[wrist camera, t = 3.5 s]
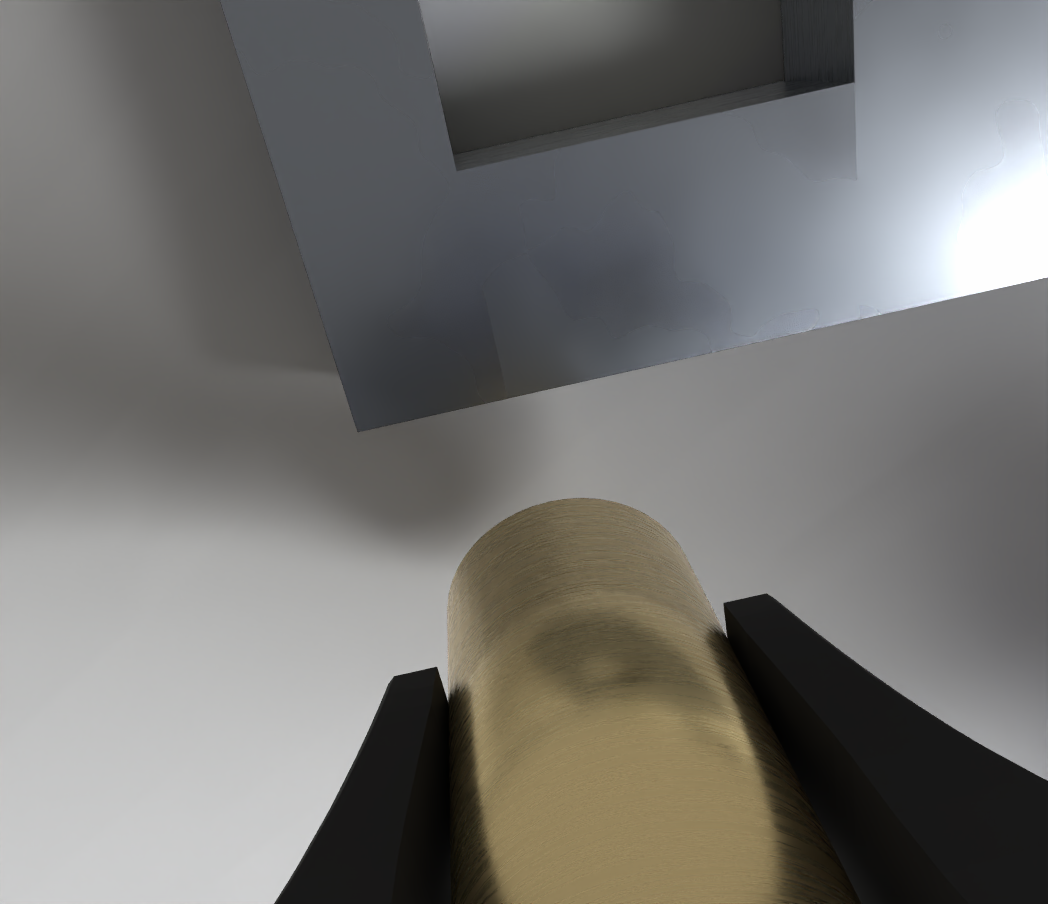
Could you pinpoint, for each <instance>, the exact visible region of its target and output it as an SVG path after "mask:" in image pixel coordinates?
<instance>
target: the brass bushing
mask: <svg viewBox="0 0 1048 904" xmlns="http://www.w3.org/2000/svg"><path fill="white" fill-rule="evenodd" d="M447 624H448V707H449V791H450V874H451V904H862V903H861V901H860V899H859V897H858V896H857V894H856V892H855V890H854V888H853V886H852V884H851V882H850V880H849V878H848V876H847V874H846V872H845V870H844V868H843V866H842V864H841V862H840V860H839V858H838V856H837V854H836V852H835V850H834V848H833V846H832V844H831V842H830V840H829V838H828V836H827V834H826V832H825V830H824V828H823V826H822V824H821V822H820V820H819V818H818V816H817V815H816V813H815V811H814V809H813V807H812V805H811V803H810V801H809V799H808V797H807V795H806V793H805V791H804V789H803V787H802V785H801V783H800V781H799V779H798V777H797V775H796V773H795V771H794V769H793V767H792V765H791V763H790V761H789V759H788V757H787V755H786V753H785V751H784V749H783V747H782V745H781V743H780V741H779V739H778V737H777V735H776V734H775V732H774V730H773V728H772V726H771V724H770V722H769V720H768V718H767V716H766V714H765V712H764V710H763V708H762V706H761V704H760V702H759V700H758V698H757V696H756V694H755V692H754V690H753V688H752V686H751V684H750V682H749V680H748V678H747V676H746V674H745V672H744V670H743V668H742V666H741V664H740V662H739V660H738V658H737V656H736V655H735V653H734V651H733V649H732V647H731V645H730V643H729V641H728V639H727V637H726V635H725V633H724V631H723V629H722V627H721V625H720V623H719V621H718V619H717V617H716V615H715V613H714V611H713V609H712V607H711V605H710V603H709V601H708V599H707V597H706V595H705V593H704V591H703V589H702V587H701V585H700V583H699V581H698V579H697V577H696V575H695V574H694V572H693V570H692V568H691V566H690V564H689V562H688V560H687V558H686V556H685V554H684V552H683V551H682V549H681V547H680V545H679V544H678V542H677V541H676V540H675V539H674V538H673V536H672V535H671V534H670V533H669V532H668V531H667V530H666V529H665V528H664V527H663V526H662V525H660V524H659V523H658V522H657V521H655V520H654V519H652V518H651V517H649V516H648V515H646V514H644V513H642V512H640V511H638V510H636V509H634V508H632V507H629V506H626V505H623V504H620V503H617V502H611V501H606V500H601V499H589V498H575V499H562V500H556V501H550V502H546V503H543V504H539V505H536V506H532V507H530V508H527V509H525V510H522V511H520V512H518V513H516V514H514V515H512V516H510V517H508V518H507V519H505V520H503V521H501V522H500V523H498V524H497V525H496V526H494V527H493V528H492V529H490V530H489V531H488V532H487V533H485V534H484V535H483V536H482V537H481V538H480V539H479V540H478V541H477V542H476V543H475V544H474V546H473V547H472V548H471V549H470V550H469V552H468V553H467V554H466V556H465V557H464V559H463V560H462V562H461V564H460V565H459V567H458V569H457V571H456V574H455V576H454V578H453V581H452V584H451V588H450V592H449V597H448V606H447Z"/></svg>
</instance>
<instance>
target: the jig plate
mask: <svg viewBox="0 0 1048 904" xmlns="http://www.w3.org/2000/svg"><path fill="white" fill-rule="evenodd" d="M220 2H221V5H222V9H223V12H224V15H225V18H226V21H227V24H228V27H229V31H230V34H231V37H232V40H233V43H234V46H235V49H236V52H237V56H238V59H239V62H240V65H241V68H242V71H243V74H244V78H245V81H246V84H247V87H248V90H249V93H250V96H251V99H252V103H253V106H254V109H255V112H256V115H257V118H258V121H259V125H260V128H261V131H262V134H263V137H264V140H265V143H266V146H267V150H268V153H269V156H270V159H271V162H272V165H273V168H274V172H275V175H276V178H277V181H278V184H279V187H280V190H281V193H282V197H283V200H284V203H285V206H286V209H287V212H288V215H289V219H290V222H291V225H292V228H293V231H294V234H295V237H296V240H297V244H298V247H299V250H300V253H301V256H302V259H303V262H304V266H305V269H306V272H307V275H308V278H309V281H310V284H311V287H312V291H313V294H314V297H315V300H316V303H317V306H318V309H319V313H320V316H321V319H322V322H323V325H324V328H325V331H326V334H327V338H328V341H329V344H330V347H331V350H332V353H333V356H334V360H335V363H336V366H337V369H338V372H339V375H340V378H341V381H342V385H343V388H344V391H345V394H346V397H347V400H348V403H349V407H350V410H351V413H352V416H353V419H354V422H355V425H356V428H357V432H361V431H365V430H370V429H374V428H379V427H383V426H388V425H392V424H396V423H401V422H405V421H410V420H414V419H419V418H423V417H428V416H432V415H437V414H441V413H445V412H450V411H454V410H459V409H463V408H468V407H472V406H477V405H481V404H485V403H490V402H494V401H499V400H503V399H508V398H512V397H517V396H521V395H526V394H530V393H534V392H539V391H543V390H548V389H552V388H557V387H561V386H566V385H570V384H574V383H579V382H583V381H588V380H592V379H597V378H601V377H606V376H610V375H615V374H619V373H623V372H628V371H632V370H637V369H641V368H646V367H650V366H655V365H659V364H664V363H668V362H672V361H677V360H681V359H686V358H690V357H695V356H699V355H704V354H708V353H712V352H717V351H721V350H726V349H730V348H735V347H739V346H744V345H748V344H753V343H757V342H761V341H766V340H770V339H775V338H779V337H784V336H788V335H793V334H797V333H802V332H806V331H810V330H815V329H819V328H824V327H828V326H833V325H837V324H842V323H846V322H850V321H855V320H859V319H864V318H868V317H873V316H877V315H882V314H886V313H891V312H895V311H899V310H904V309H908V308H913V307H917V306H922V305H926V304H931V303H935V302H939V301H944V300H948V299H953V298H957V297H962V296H966V295H971V294H975V293H980V292H984V291H988V290H993V289H997V288H1002V287H1006V286H1011V285H1015V284H1020V283H1024V282H1029V281H1033V280H1037V279H1042V278H1046V277H1048V0H781V16H782V34H783V52H784V70H785V81H781V82H776V83H772V84H767V85H763V86H758V87H754V88H750V89H745V90H741V91H736V92H732V93H727V94H723V95H718V96H714V97H709V98H705V99H700V100H696V101H692V102H687V103H683V104H678V105H674V106H669V107H665V108H660V109H656V110H651V111H647V112H642V113H638V114H633V115H629V116H625V117H620V118H616V119H611V120H607V121H602V122H598V123H593V124H589V125H584V126H580V127H575V128H571V129H566V130H562V131H558V132H553V133H549V134H544V135H540V136H535V137H531V138H526V139H522V140H517V141H513V142H508V143H504V144H500V145H495V146H491V147H486V148H482V149H477V150H473V151H468V152H464V153H459V154H455V155H453V152H452V147H451V143H450V138H449V134H448V130H447V125H446V121H445V116H444V112H443V107H442V103H441V99H440V94H439V90H438V85H437V81H436V76H435V72H434V68H433V63H432V59H431V54H430V50H429V45H428V41H427V37H426V32H425V28H424V23H423V19H422V14H421V10H420V6H419V1H418V0H220Z"/></svg>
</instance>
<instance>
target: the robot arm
mask: <svg viewBox="0 0 1048 904" xmlns="http://www.w3.org/2000/svg"><path fill="white" fill-rule="evenodd" d="M723 604H724V612H725V621H726V630H727V638H728V641H729V643H730V645H731V647H732V649H733V651H734V653H735V655H736V656H737V658H738V660H739V662H740V664H741V666H742V668H743V670H744V672H745V674H746V676H747V678H748V680H749V682H750V684H751V686H752V688H753V690H754V692H755V694H756V696H757V698H758V700H759V702H760V704H761V706H762V708H763V710H764V712H765V714H766V716H767V718H768V720H769V722H770V724H771V726H772V728H773V730H774V732H775V734H776V735H777V737H778V739H779V741H780V743H781V745H782V747H783V749H784V751H785V753H786V755H787V757H788V759H789V761H790V763H791V765H792V767H793V769H794V771H795V773H796V775H797V777H798V779H799V781H800V783H801V785H802V787H803V789H804V791H805V793H806V795H807V797H808V799H809V801H810V803H811V805H812V807H813V809H814V811H815V813H816V815H817V816H818V818H819V820H820V822H821V824H822V826H823V828H824V830H825V832H826V834H827V836H828V838H829V840H830V842H831V844H832V846H833V848H834V850H835V852H836V854H837V856H838V858H839V860H840V862H841V864H842V866H843V868H844V870H845V872H846V874H847V876H848V878H849V880H850V882H851V884H852V886H853V888H854V890H855V892H856V894H857V896H858V897H859V899H860V901H861V903H862V904H1048V781H1047V780H1045V779H1043V778H1041V777H1039V776H1037V775H1035V774H1033V773H1032V772H1030V771H1028V770H1026V769H1024V768H1022V767H1021V766H1019V765H1017V764H1015V763H1013V762H1011V761H1010V760H1008V759H1006V758H1004V757H1002V756H1000V755H999V754H997V753H995V752H993V751H991V750H989V749H988V748H986V747H984V746H982V745H981V744H979V743H977V742H975V741H974V740H972V739H970V738H969V737H967V736H965V735H964V734H962V733H961V732H959V731H957V730H956V729H954V728H952V727H951V726H949V725H948V724H946V723H944V722H943V721H941V720H940V719H938V718H937V717H935V716H934V715H932V714H930V713H929V712H927V711H926V710H924V709H923V708H921V707H919V706H918V705H916V704H915V703H913V702H912V701H910V700H909V699H907V698H906V697H905V696H903V695H902V694H900V693H899V692H897V691H896V690H894V689H893V688H891V687H890V686H889V685H887V684H886V683H884V682H883V681H882V680H880V679H879V678H877V677H876V676H874V675H873V674H872V673H870V672H869V671H867V670H866V669H865V668H863V667H862V666H860V665H859V664H858V663H856V662H855V661H854V660H852V659H851V658H850V657H848V656H847V655H845V654H844V653H843V652H841V651H840V650H839V649H838V648H836V647H835V646H834V645H832V644H831V643H830V642H828V641H827V640H826V639H825V638H823V637H822V636H821V635H819V634H818V633H817V632H816V631H814V630H813V629H812V628H810V627H809V626H808V625H807V624H805V623H804V622H803V621H802V620H800V619H799V618H798V617H797V616H795V615H794V614H793V613H792V612H791V611H789V610H788V609H787V608H786V607H784V606H783V605H782V604H781V603H779V602H778V601H777V600H776V599H774V598H773V597H771V596H770V595H768V594H762V595H758V596H753V597H749V598H744V599H740V600H735V601H731V602H726V603H723ZM274 904H451V874H450V791H449V707H448V700H447V697H446V694H445V691H444V688H443V685H442V681H441V678H440V675H439V672H438V669H437V667H434V668H430V669H425V670H421V671H416V672H412V673H407V674H403V675H398V676H394V677H393V679H392V680H391V681H390V683H389V684H388V686H387V689H386V691H385V694H384V696H383V698H382V701H381V703H380V706H379V708H378V710H377V713H376V715H375V717H374V719H373V722H372V724H371V726H370V728H369V731H368V733H367V735H366V737H365V739H364V741H363V744H362V746H361V748H360V750H359V752H358V754H357V756H356V759H355V761H354V762H353V764H352V766H351V768H350V770H349V772H348V774H347V776H346V778H345V780H344V782H343V784H342V786H341V788H340V790H339V792H338V794H337V796H336V798H335V800H334V802H333V804H332V806H331V808H330V810H329V812H328V814H327V815H326V817H325V819H324V821H323V822H322V824H321V826H320V828H319V829H318V831H317V833H316V835H315V836H314V838H313V840H312V842H311V843H310V845H309V847H308V849H307V851H306V852H305V854H304V856H303V858H302V859H301V861H300V863H299V865H298V866H297V868H296V870H295V871H294V873H293V875H292V876H291V878H290V879H289V881H288V883H287V884H286V886H285V887H284V889H283V891H282V892H281V894H280V895H279V897H278V899H277V900H276V902H275V903H274Z"/></svg>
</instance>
